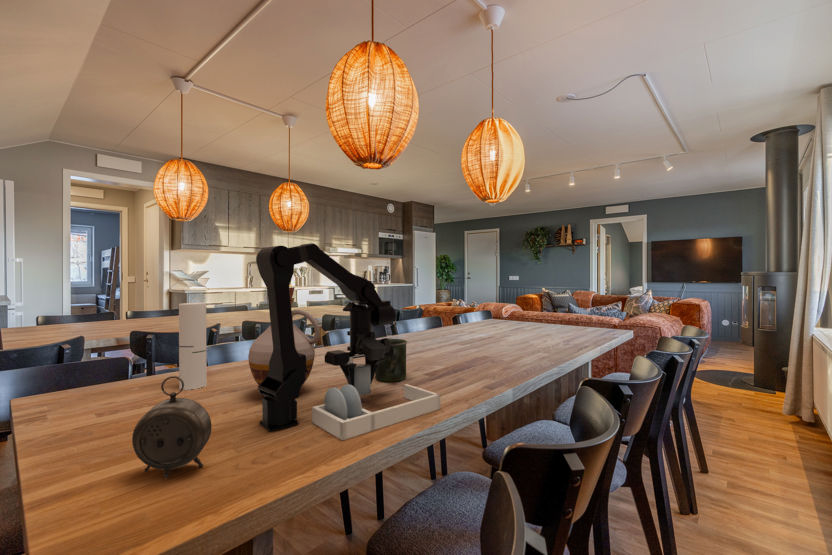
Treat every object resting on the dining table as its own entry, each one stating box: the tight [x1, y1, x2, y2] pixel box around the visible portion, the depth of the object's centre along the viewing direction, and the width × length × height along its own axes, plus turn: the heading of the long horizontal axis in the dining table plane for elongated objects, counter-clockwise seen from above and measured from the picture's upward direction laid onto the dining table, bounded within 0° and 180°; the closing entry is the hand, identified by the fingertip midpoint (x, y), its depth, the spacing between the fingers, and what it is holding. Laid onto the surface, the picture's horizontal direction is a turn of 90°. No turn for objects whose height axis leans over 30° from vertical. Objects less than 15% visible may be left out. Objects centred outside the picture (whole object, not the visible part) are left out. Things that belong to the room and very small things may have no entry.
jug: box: [247, 286, 321, 388], centre depth 111 cm, size 20×18×30 cm
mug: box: [374, 338, 408, 383], centre depth 125 cm, size 11×15×12 cm
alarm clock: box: [131, 375, 212, 479], centre depth 65 cm, size 11×5×16 cm, turn 102°
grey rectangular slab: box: [354, 363, 372, 396], centre depth 104 cm, size 5×5×7 cm
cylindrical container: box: [178, 302, 208, 391], centre depth 117 cm, size 7×7×25 cm
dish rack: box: [311, 383, 442, 441], centre depth 92 cm, size 28×13×9 cm, turn 132°
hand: (360, 386), depth 104 cm, fingers closed on grey rectangular slab, 5 cm apart
